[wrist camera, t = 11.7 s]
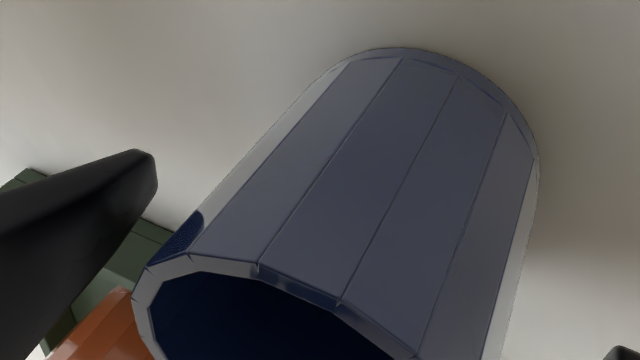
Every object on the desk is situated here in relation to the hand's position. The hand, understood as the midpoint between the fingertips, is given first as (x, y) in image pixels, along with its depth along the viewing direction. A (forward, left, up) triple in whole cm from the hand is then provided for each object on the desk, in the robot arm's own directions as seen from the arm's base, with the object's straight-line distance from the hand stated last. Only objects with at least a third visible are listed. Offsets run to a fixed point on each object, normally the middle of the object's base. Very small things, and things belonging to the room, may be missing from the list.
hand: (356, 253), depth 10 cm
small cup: (0, 0, -3) cm, 3 cm away
